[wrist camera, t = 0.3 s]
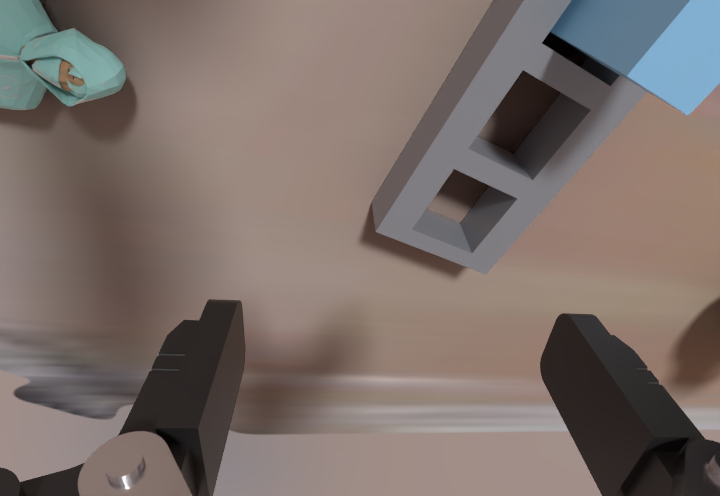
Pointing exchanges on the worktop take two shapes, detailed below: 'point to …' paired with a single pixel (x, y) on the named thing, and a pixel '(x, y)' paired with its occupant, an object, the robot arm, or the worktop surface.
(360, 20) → the worktop surface
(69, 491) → the robot arm
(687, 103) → the plug
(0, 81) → the figurine
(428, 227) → the panel
